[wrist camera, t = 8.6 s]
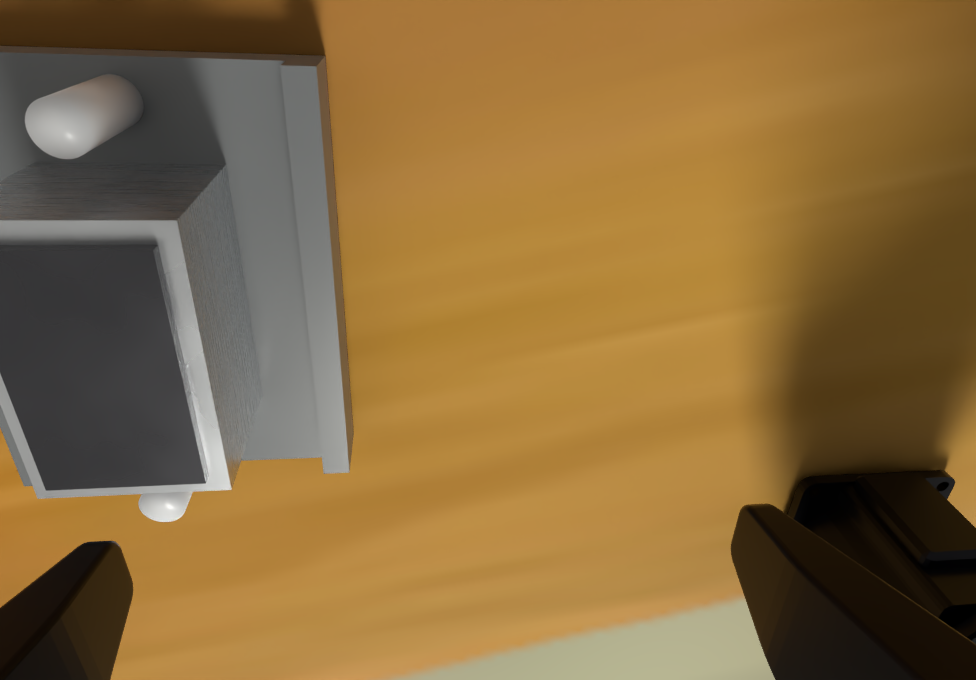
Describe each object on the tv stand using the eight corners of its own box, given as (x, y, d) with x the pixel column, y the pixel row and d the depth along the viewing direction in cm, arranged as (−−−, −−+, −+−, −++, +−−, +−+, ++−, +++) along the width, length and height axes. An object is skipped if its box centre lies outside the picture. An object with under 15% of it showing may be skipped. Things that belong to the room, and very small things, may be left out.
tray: (353, 433, 23) (343, 523, 19) (54, 444, 21) (-17, 541, 18) (325, 56, 17) (303, 81, 13) (-91, 42, 15) (-241, 66, 12)
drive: (262, 394, 20) (228, 498, 16) (106, 398, 19) (31, 507, 16) (226, 164, 16) (172, 225, 13) (34, 162, 16) (-85, 226, 12)
